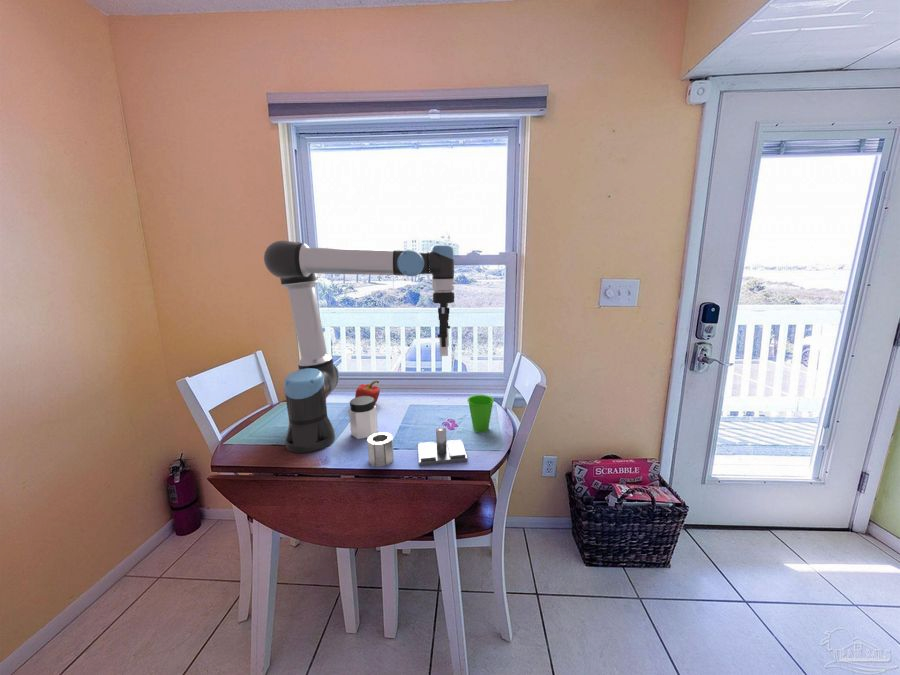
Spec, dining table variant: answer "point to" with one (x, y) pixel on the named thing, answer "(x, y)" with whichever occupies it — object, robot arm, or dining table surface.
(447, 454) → the shaft block
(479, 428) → the cup
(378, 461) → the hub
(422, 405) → the dining table surface
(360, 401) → the jar
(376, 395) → the vegetable
